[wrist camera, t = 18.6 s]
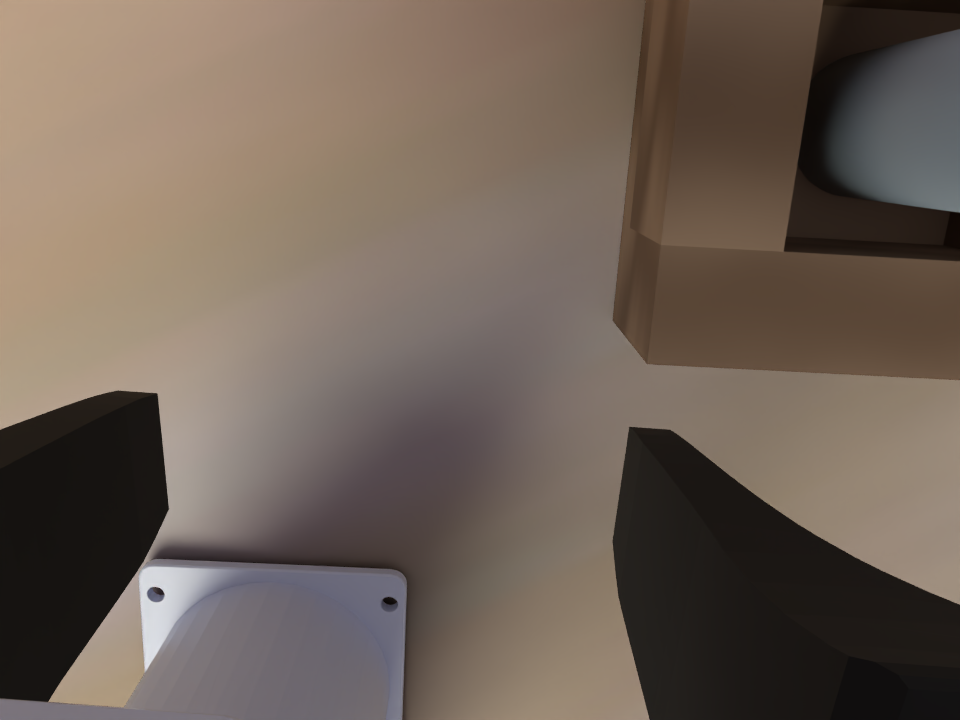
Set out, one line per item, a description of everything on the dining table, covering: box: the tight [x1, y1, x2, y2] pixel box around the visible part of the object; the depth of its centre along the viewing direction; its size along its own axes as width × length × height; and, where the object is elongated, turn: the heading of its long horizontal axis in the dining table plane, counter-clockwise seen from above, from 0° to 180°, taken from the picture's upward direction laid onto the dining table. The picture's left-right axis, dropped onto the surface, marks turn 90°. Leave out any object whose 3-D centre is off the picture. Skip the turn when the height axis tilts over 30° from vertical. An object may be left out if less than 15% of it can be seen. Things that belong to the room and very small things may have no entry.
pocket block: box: [613, 0, 960, 380], centre depth 19 cm, size 11×11×4 cm
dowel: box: [798, 29, 960, 213], centre depth 16 cm, size 4×4×8 cm
